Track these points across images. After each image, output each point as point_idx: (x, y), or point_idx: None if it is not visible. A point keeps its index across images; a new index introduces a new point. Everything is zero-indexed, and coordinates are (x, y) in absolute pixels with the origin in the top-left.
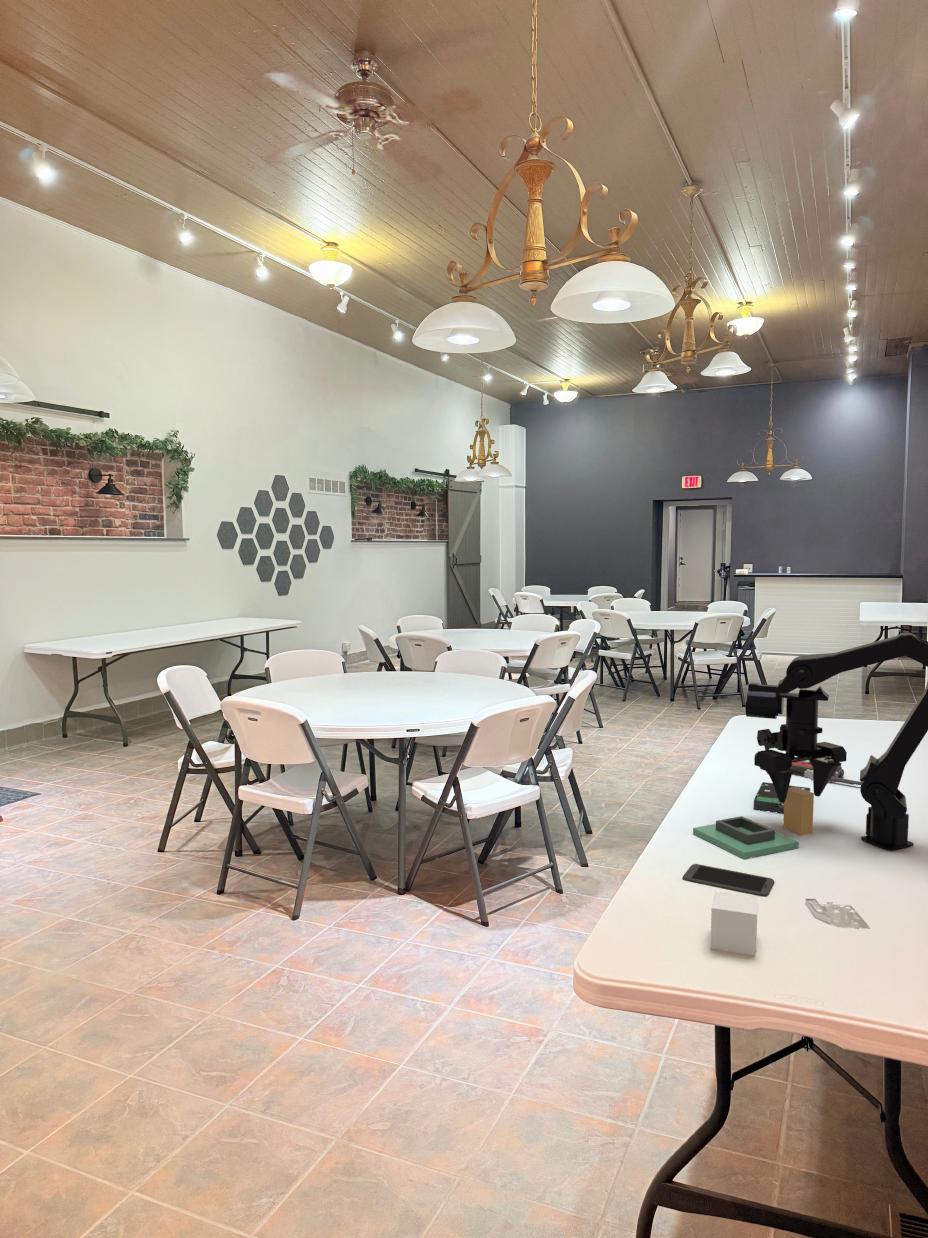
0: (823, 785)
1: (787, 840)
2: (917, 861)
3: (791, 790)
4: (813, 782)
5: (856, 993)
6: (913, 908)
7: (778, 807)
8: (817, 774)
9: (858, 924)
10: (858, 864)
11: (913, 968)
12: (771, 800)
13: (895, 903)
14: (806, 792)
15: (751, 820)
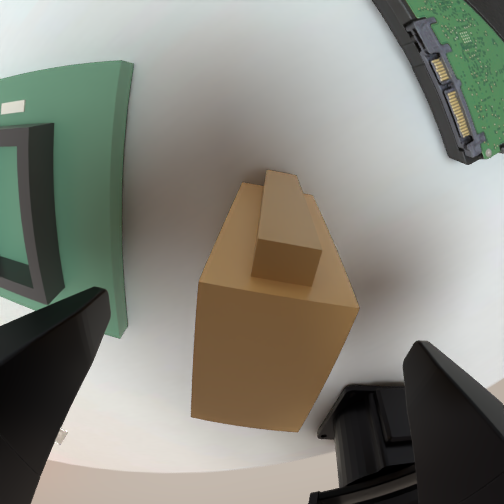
0: (414, 445)
1: None
2: (303, 458)
3: (215, 342)
4: (458, 393)
5: None
6: (133, 469)
7: (418, 50)
8: (470, 466)
9: None
10: (185, 425)
11: (58, 460)
12: (435, 4)
13: (123, 460)
14: (274, 411)
15: (27, 191)
